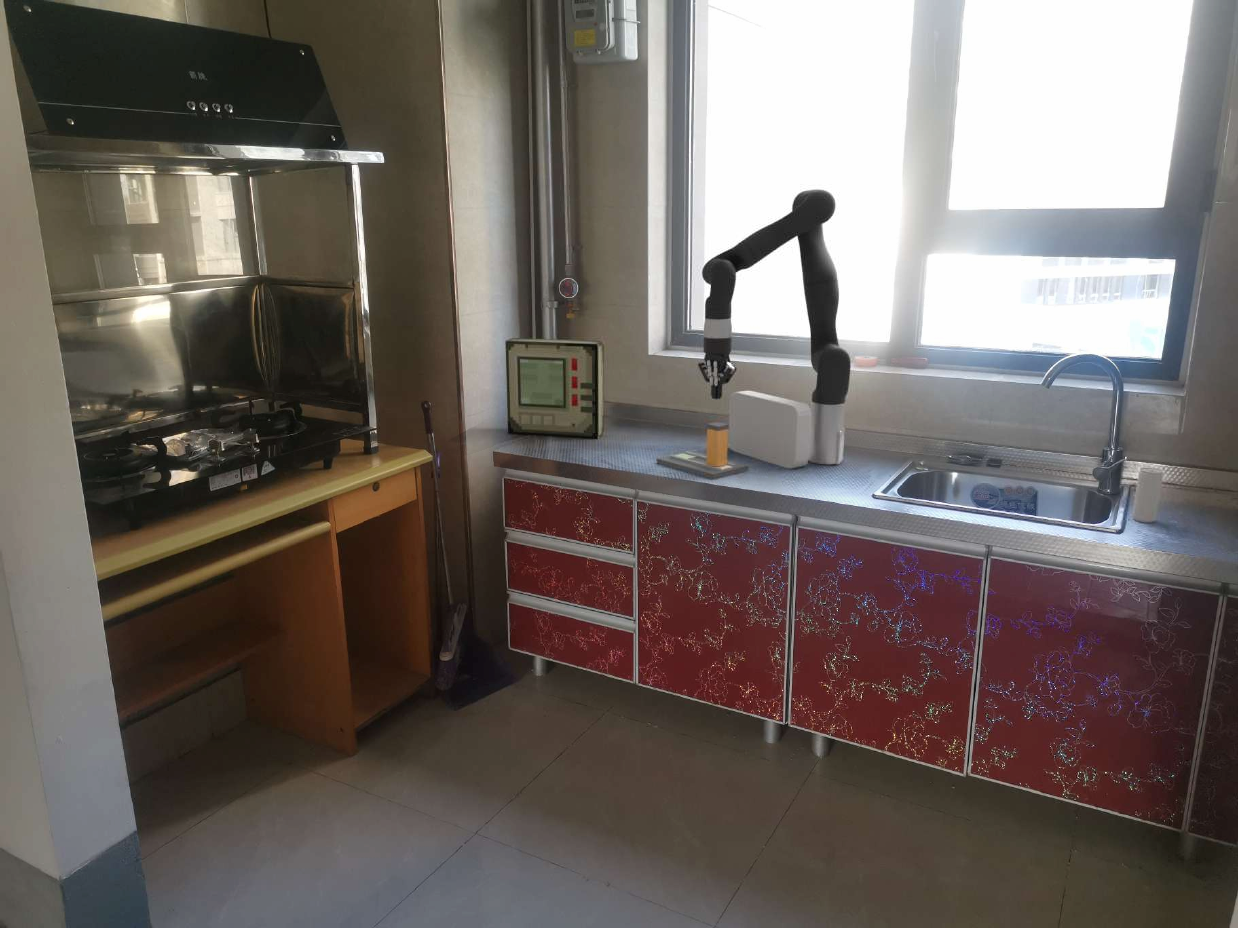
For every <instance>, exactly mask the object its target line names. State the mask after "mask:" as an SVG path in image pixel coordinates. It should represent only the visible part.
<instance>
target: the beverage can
mask: <svg viewBox="0 0 1238 928" xmlns="http://www.w3.org/2000/svg"><path fill="white" fill-rule="evenodd" d="M1163 473H1164V471H1163V469H1159V468H1155V467H1140V468H1139V471H1138V476H1137V480H1136V481H1137V482H1136V489H1135V495H1134V500H1133V501H1134V502H1133V508H1132V515H1131V517H1132V519H1133V520H1134V521H1137V522H1141V523H1145V524H1146V523H1148V524H1151V523H1153V522H1155V520H1156V518H1157V511H1158V507H1159V501H1160V495H1161V492H1162V491H1161V490H1162V484H1163V477H1164V474H1163Z"/></svg>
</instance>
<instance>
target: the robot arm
mask: <svg viewBox="0 0 1238 928" xmlns="http://www.w3.org/2000/svg"><path fill="white" fill-rule="evenodd" d="M836 208H837V207H836V199H835V197H834V195H833V194H832V193H831V192H830V191H828V190H825V189H820V188H819V189H817V188H816V189H808V190H803V191H801V192H799V193H797V195H796V196H795V198H794V199H793V202H792V206H791V212H789V213H787V214H786V215H784V216H783V217H781V218H779V219H778V220H776V221H774V222H772V223H771V224H768V225H766V226H764V227H762V228H760V229H758V230H756V231H754V232H753V233H751V234H750V235H748V236H747V237H746V238H744V239H743V240H741V241H739V242H738V243H736V245H734V246H732V247H730V248H729V249H727V250H725V251H723V252H721V253H719V254H717V255H715V256H713V257H712V258H711V259H709V260H708V261H707V262H706V263H705V264H704V266H703V267H702V272H701V275H702V279H703V281H704V282H705V283H706V284H708V285H709V286H710V288H709V289H710V291H709V296H708V297H706V299H705V302H704V303H705V304H704V305H705V306H704V322H703V323H704V324H703V344H702V345H703V348H702V349H703V350H702V351H703V353H704V358H703V359H704V360H702V361H701V362H699V363H698V364H697V366H698V368H699V371H700V373H701V375H702V376H703V378H704V380H705V382H706V383H709V385H710V396H711V399H713V400H720V399H722V397H723V386H724V385H725V384H728V383H730V381H731V380H732V378H733V376H734V375H735V373H736V371H737V369H738V368H737V367H736V366H733V365H732V364H731V359H730V358H731V357H730V354H731V352H732V342H733V341H732V335H733V333H732V332H733V329H732V327H733V325H732V300H733V297H734V292H735V287H736V283H737V273H738V272H740V271H742V270H747V269H749V268H752V267H753V266H754V265H756V264H757V263H759V262H761V261H762V260H763V259H765V258H766V257H768V256H769V255H770V254H772V253H773V252H775V251H776V250H778V249H779V248H780V247H783V245H785V244H786V243H788V242H790V241H791V240H793V239H795V238H796V237H797V241H798V247H799V255H800V263H801V264H800V265H801V271H802V274H801V275H802V282H803V292H804V298H805V305H806V306H805V307H806V312H807V318H808V323H809V330H810V331H809V332H810V362H811V363H810V364H811V366H812V368H813V370H814V371H815V372H816V373H817V375H816V385H815V388H814V390H813V391H812V394H811V406H810V409H811V430H810V446H809V460H808V462H811V463H814V464H818V465H840V464H841V462H842V461H843V460H844V457H843V456H844V443H845V433H846V427H844V423H845V421H844V420H845V411H846V410H845V408H846V406H845V405H846V397H847V395H848V392H849V388H850V387H849V386H850V380H851V379H850V377H851V357H850V354H849V353H848V351H847V350H846V349H844V348H843V347H841V346H840V344H839V343H840V342H839V339H838V334H837V325H836V323H837V316H838V315H837V314H838V310H839V309H838V308H839V302H840V301H839V300H840V289H839V280H838V272H837V269H836V266H835V263H834V262H833V258H832V257H831V254H830V252H829V250H828V248H827V245H826V242H825V237H824V228H823V227H824V225H823V224H825V223H826V222H828V221H829V220H830V219H831V218H832V217H833V215H834V214H835V211H836Z"/></svg>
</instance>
